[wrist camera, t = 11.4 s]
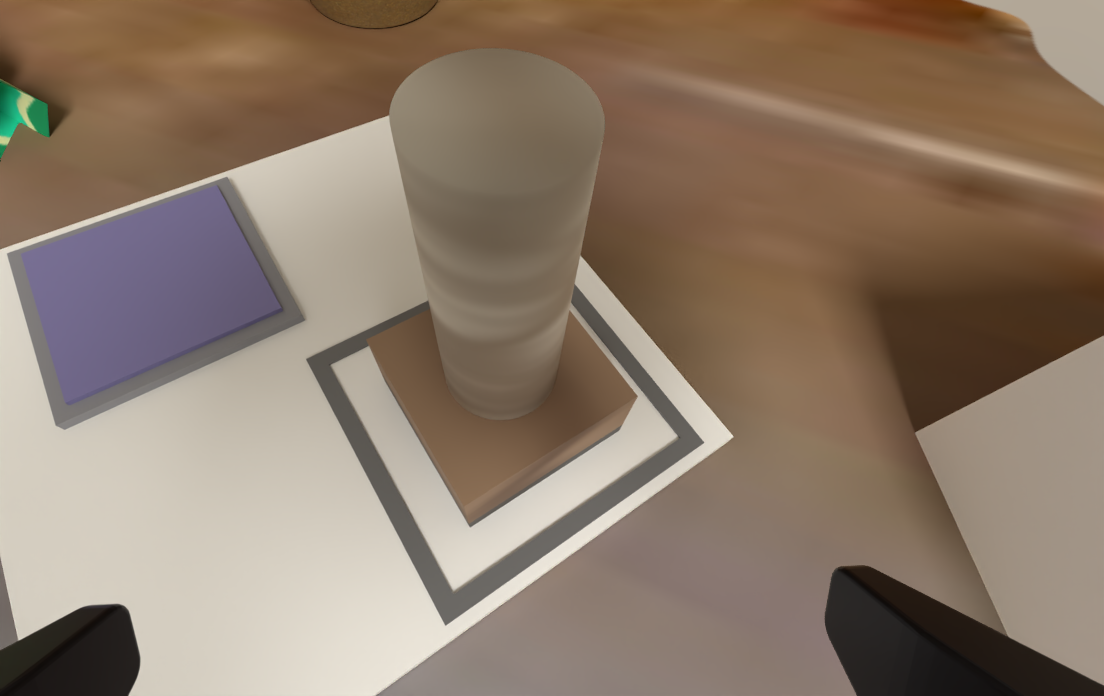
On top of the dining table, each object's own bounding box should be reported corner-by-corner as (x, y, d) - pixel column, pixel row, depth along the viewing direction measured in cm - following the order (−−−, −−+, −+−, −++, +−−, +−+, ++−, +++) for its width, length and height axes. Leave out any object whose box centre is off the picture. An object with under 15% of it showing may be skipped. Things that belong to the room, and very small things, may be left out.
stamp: (470, 527, 17) (415, 339, 6) (384, 381, 19) (240, 62, 9) (619, 430, 19) (763, 165, 8) (526, 307, 21) (549, -25, 11)
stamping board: (93, 898, 13) (56, 921, 12) (-47, 280, 20) (-77, 260, 19) (727, 442, 20) (740, 430, 19) (446, 106, 27) (444, 84, 26)
